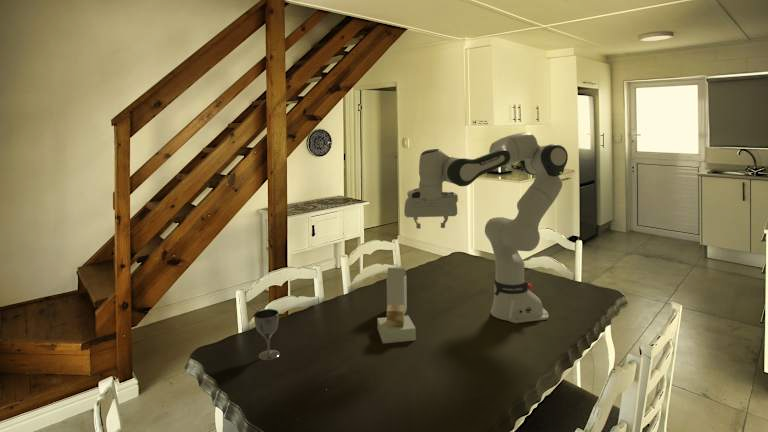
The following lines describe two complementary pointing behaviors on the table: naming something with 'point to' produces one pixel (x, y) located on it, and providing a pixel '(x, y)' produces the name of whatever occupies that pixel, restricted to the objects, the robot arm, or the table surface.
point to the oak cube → (395, 316)
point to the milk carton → (397, 287)
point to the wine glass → (267, 330)
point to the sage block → (396, 331)
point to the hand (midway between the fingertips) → (430, 228)
